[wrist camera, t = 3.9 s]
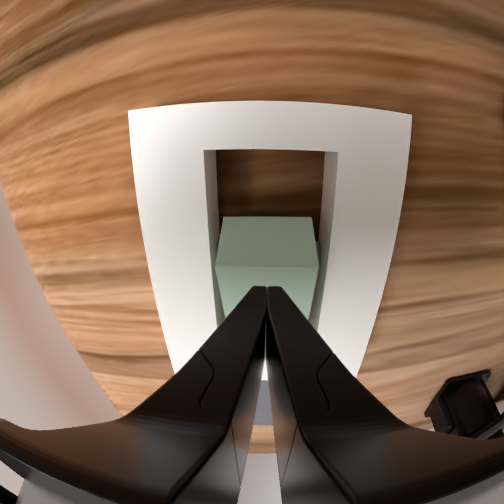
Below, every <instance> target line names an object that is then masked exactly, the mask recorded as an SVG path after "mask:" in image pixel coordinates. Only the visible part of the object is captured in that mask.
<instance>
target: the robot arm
mask: <svg viewBox="0 0 504 504" xmlns="http://www.w3.org/2000/svg"><path fill="white" fill-rule="evenodd" d="M265 347H266V367H267V375H268V384H269V393H270V401H271V410H272V419H273V427H274V436H275V445H276V453H277V462H278V471H279V480H280V487H281V497H282V504H504V431H503V430H504V412H503V413H502V414H501V415H500V413H499V411H498V409H497V406H496V404H495V402H494V400H493V398H492V396H491V394H490V392H489V390H488V388H487V386H486V384H485V383H486V381H487V380H488V379H489V377H490V376H491V371H490V370H487V371H484V372H480V373H476V374H471V375H467V376H463V377H458V378H453V379H449V380H448V381H446V383H445V384H444V386H443V387H442V389H441V390H440V392H439V393H438V395H437V396H436V398H435V399H434V401H433V402H432V404H431V405H430V406H429V408H428V409H427V411H426V412H425V413H424V415H425V417H426V418H427V417H431V420H432V423H433V426H434V429H435V432H434V431H429V430H424V429H420V428H416V427H413V426H410V425H408V424H406V423H404V422H403V421H401V420H400V419H398V418H397V417H396V416H395V415H394V414H393V413H391V412H390V411H389V410H388V409H387V408H386V407H385V406H384V405H383V404H382V403H381V402H380V401H379V400H378V399H377V398H376V397H375V396H374V395H372V394H371V393H370V392H369V391H368V390H367V389H366V388H365V387H364V386H363V385H362V384H361V383H360V382H359V381H358V380H357V379H356V378H355V377H354V376H353V375H352V374H351V373H350V371H349V370H348V369H347V368H346V367H345V365H344V364H343V363H342V362H341V361H340V360H339V358H338V357H337V356H336V354H335V353H333V351H332V350H331V348H330V347H329V346H328V345H327V343H326V342H325V341H324V340H323V338H322V337H321V336H320V334H319V333H318V332H317V331H316V329H315V328H314V327H313V326H312V324H311V323H310V322H309V321H308V319H307V318H306V317H305V316H304V314H303V313H302V312H301V311H300V309H299V308H298V307H297V306H296V304H295V303H294V302H293V301H292V299H291V298H290V297H289V296H288V294H287V293H286V292H285V290H284V289H283V288H282V287H281V286H268V287H266V286H252V287H251V289H250V290H249V291H248V292H247V293H246V295H245V296H244V297H243V298H242V299H241V300H240V302H239V303H238V304H237V305H236V306H235V308H234V309H233V310H232V311H231V312H230V313H229V315H228V316H227V317H226V318H225V319H224V320H223V322H222V323H221V324H220V325H219V326H218V327H217V329H216V330H215V331H214V332H213V333H212V334H211V336H210V337H209V338H208V339H207V340H206V341H205V342H204V344H203V345H202V346H201V347H200V348H199V350H198V351H196V353H195V354H194V355H193V356H192V357H191V358H190V359H189V360H188V362H187V363H186V364H185V365H184V366H183V367H182V368H181V369H180V370H179V371H178V372H177V373H176V374H175V375H174V376H172V377H171V378H170V379H169V380H168V381H167V382H166V383H165V384H164V385H162V386H161V387H160V388H159V389H158V390H157V391H155V392H154V393H153V394H152V395H151V396H149V397H148V398H147V399H146V400H145V401H144V402H142V403H141V404H140V405H139V406H138V407H136V408H135V409H134V410H133V411H131V412H130V413H128V414H127V415H125V416H123V417H121V418H119V419H117V420H114V421H110V422H105V423H99V424H93V425H86V426H79V427H72V428H64V429H56V430H42V431H40V430H30V429H24V428H22V427H19V426H17V425H15V424H13V423H11V422H9V421H7V420H5V419H0V460H1V461H2V462H3V463H4V464H6V465H7V466H8V467H9V468H11V469H12V470H13V471H15V472H16V473H17V474H19V475H20V476H21V477H23V478H24V482H23V485H22V487H21V490H20V492H19V495H18V496H16V495H15V494H13V493H12V492H10V491H9V490H7V489H5V488H4V487H2V486H1V485H0V504H237V502H238V497H239V492H240V486H241V482H242V478H243V473H244V468H245V463H246V458H247V453H248V448H249V443H250V438H251V433H252V428H253V422H254V417H255V412H256V406H257V401H258V395H259V390H260V384H261V378H262V373H263V367H264V360H265Z"/></svg>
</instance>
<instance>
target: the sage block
mask: <svg viewBox="0 0 504 504" xmlns="http://www.w3.org/2000/svg"><path fill="white" fill-rule="evenodd" d="M215 269H216V275H217V280H218V285H219V290H220V295H221V300H222V305H223V310H224V314H225V318H226V317H227V316H228V315H229V313H230V312H231V311H232V310H233V309H234V308H235V306H236V305H237V304H238V303H239V302H240V300H241V299H242V298H243V297H244V296H245V295H246V293H247V292H248V291H249V290H250V289H251V287H252V286H266V287H268V286H281V287H282V288H283V289H284V290H285V292H286V293H287V294H288V296H289V297H290V298H291V299H292V301H293V302H294V303H295V304H296V306H297V307H298V308H299V309H300V311H301V312H302V313H303V314H304V316H305V317H306V318H307V319H309V314H310V310H311V305H312V300H313V295H314V290H315V285H316V280H317V274H318V269H319V264H318V257H317V250H316V243H315V236H314V229H313V223H312V217H223V222H222V228H221V234H220V239H219V245H218V251H217V257H216V263H215ZM265 355H266V347H265Z"/></svg>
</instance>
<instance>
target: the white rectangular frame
mask: <svg viewBox="0 0 504 504" xmlns="http://www.w3.org/2000/svg"><path fill="white" fill-rule="evenodd" d="M128 116H129V130H130V142H131V153H132V163H133V172H134V180H135V188H136V195H137V203H138V209H139V216H140V222H141V229H142V235H143V240H144V246H145V251H146V257H147V262H148V267H149V272H150V277H151V282H152V287H153V291H154V296H155V300H156V304H157V309H158V313H159V317H160V321H161V325H162V329H163V333H164V337H165V341H166V345H167V348H168V352H169V356H170V359H171V363H172V366H173V370H174V373H175V374H176V373H177V372H178V371H179V370H180V369H181V368H182V367H183V366H184V365H185V364H186V363H187V362H188V360H189V359H190V358H191V357H192V356H193V355H194V354H195V353H196V351H198V350H199V348H200V347H201V346H202V345H203V344H204V342H205V341H206V340H207V339H208V338H209V337H210V336H211V334H212V333H213V332H214V331H215V330H216V329H217V327H218V326H219V325H220V324H221V323H222V322H223V320H224V319H225V314H224V310H223V305H222V300H221V295H220V290H219V285H218V280H217V275H216V269H215V263H216V257H217V251H218V245H219V239H220V229H219V211H218V191H217V168H216V150H220V149H283V150H310V151H325V158H324V175H323V190H322V204H321V216H320V227H319V238H318V241H315V243H316V250H317V257H318V264H319V269H318V274H317V280H316V285H315V290H314V295H313V300H312V305H311V310H310V315H309V322H310V323H311V324H312V326H313V327H314V328H315V329H316V331H317V332H318V333H319V334H320V336H321V337H322V338H323V340H324V341H325V342H326V343H327V345H328V346H329V347H330V348H331V350H332V351H333V353H335V354H336V356H337V357H338V358H339V360H340V361H341V362H342V363H343V364H344V365H345V367H346V368H347V369H348V370H349V371H350V373H351V374H352V375H353V376H354V377H355V378H356V376H357V373H358V371H359V368H360V365H361V362H362V359H363V357H364V354H365V351H366V348H367V345H368V342H369V339H370V335H371V332H372V329H373V326H374V322H375V319H376V316H377V312H378V309H379V305H380V302H381V298H382V294H383V291H384V287H385V283H386V279H387V275H388V271H389V267H390V262H391V258H392V253H393V249H394V244H395V239H396V234H397V229H398V224H399V219H400V213H401V207H402V201H403V195H404V188H405V181H406V174H407V166H408V157H409V148H410V137H411V124H412V115H410V114H405V113H399V112H393V111H387V110H380V109H373V108H365V107H357V106H348V105H338V104H327V103H313V102H294V101H223V102H204V103H190V104H178V105H168V106H159V107H151V108H143V109H136V110H130V111H128ZM261 380H268V375H267V367H266V355H265V360H264V367H263V373H262V378H261Z"/></svg>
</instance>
